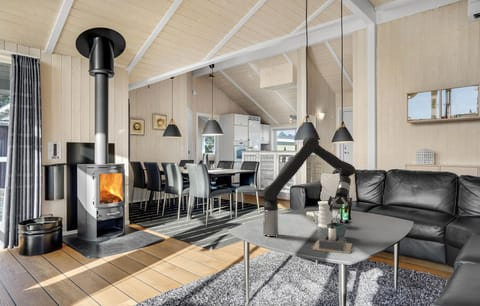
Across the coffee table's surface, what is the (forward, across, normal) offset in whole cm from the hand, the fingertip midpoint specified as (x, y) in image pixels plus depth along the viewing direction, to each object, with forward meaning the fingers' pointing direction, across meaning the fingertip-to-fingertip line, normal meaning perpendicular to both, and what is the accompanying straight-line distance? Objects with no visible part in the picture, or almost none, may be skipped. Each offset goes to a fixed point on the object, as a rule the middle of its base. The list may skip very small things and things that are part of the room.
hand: (337, 211), depth 182 cm
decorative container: (-11, -19, +38) cm, 44 cm away
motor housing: (+21, 0, +5) cm, 22 cm away
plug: (+21, 0, +4) cm, 21 cm away
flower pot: (+8, -4, +19) cm, 21 cm away
